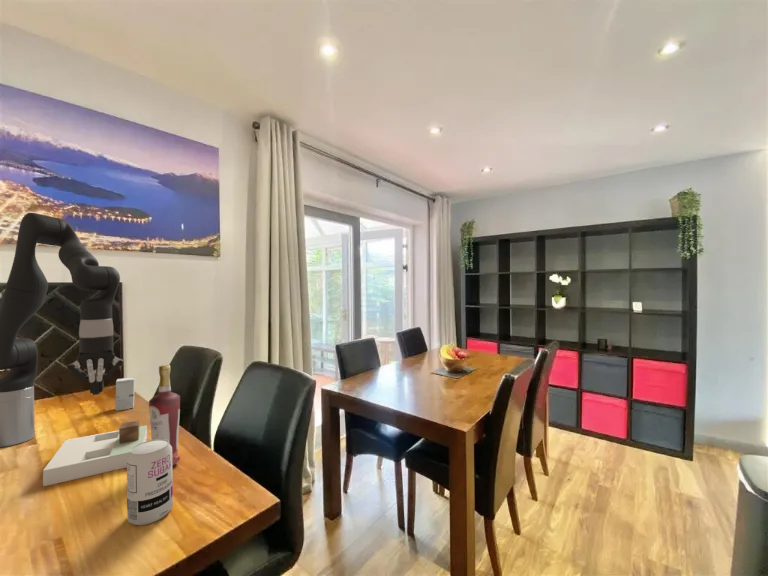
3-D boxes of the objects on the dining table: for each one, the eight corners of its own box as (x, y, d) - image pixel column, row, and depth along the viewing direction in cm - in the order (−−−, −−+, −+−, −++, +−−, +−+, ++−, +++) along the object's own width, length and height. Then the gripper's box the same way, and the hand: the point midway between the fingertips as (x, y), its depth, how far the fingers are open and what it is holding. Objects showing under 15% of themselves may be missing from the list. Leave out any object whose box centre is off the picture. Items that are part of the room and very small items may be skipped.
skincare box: (115, 411, 135) (114, 381, 135) (116, 408, 139) (116, 379, 139) (134, 408, 139) (133, 379, 139) (135, 405, 143) (134, 376, 143)
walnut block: (119, 443, 98) (119, 428, 98) (121, 438, 102) (121, 423, 102) (138, 440, 101) (138, 425, 101) (139, 434, 105) (139, 420, 105)
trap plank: (43, 486, 84) (42, 470, 84) (66, 452, 101) (66, 439, 101) (140, 464, 95) (140, 450, 95) (146, 437, 112) (146, 425, 112)
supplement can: (142, 503, 77) (142, 438, 77) (180, 501, 78) (179, 437, 78) (117, 528, 69) (117, 456, 69) (159, 526, 70) (159, 454, 70)
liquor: (186, 461, 96) (186, 364, 96) (162, 475, 89) (161, 370, 89) (168, 457, 98) (167, 362, 98) (143, 470, 91) (142, 368, 91)
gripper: (127, 331, 104) (127, 387, 104) (69, 334, 97) (69, 394, 97) (123, 334, 97) (123, 394, 98) (62, 338, 91) (62, 401, 91)
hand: (96, 394), depth 97 cm, fingers closed
